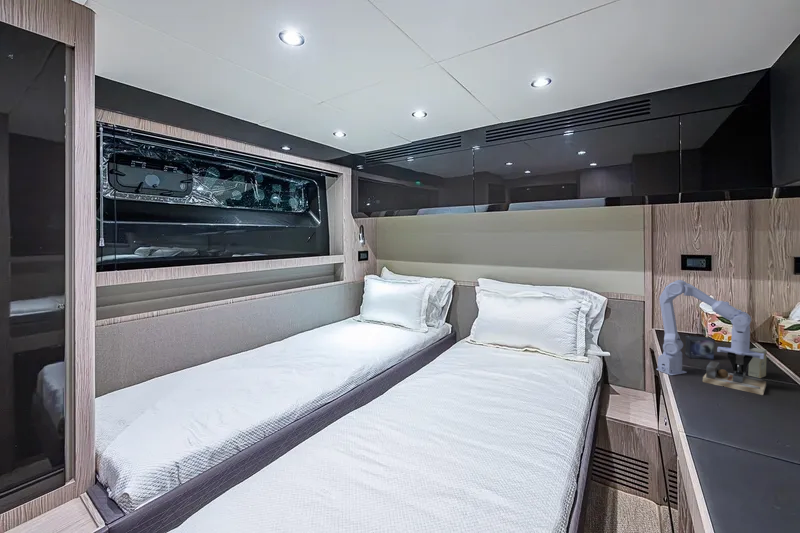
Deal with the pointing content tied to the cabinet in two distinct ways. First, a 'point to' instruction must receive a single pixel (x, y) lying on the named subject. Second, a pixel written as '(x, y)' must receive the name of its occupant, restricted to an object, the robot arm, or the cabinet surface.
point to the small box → (700, 347)
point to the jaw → (739, 373)
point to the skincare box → (757, 364)
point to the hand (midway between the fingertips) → (739, 371)
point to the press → (726, 380)
